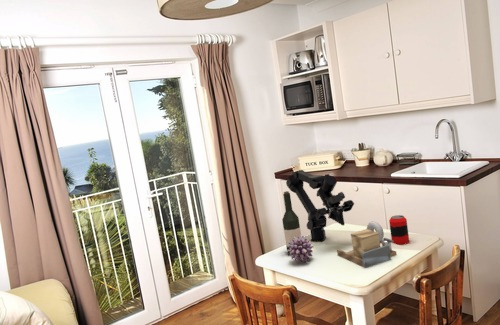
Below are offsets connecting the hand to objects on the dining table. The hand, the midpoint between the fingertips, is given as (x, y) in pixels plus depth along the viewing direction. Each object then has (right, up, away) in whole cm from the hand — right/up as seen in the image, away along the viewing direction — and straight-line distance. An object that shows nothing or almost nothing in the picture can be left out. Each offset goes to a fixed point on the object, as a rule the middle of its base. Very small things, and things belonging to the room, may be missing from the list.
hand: (343, 224), depth 193 cm
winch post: (+16, -12, -12) cm, 23 cm away
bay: (+6, -13, -10) cm, 18 cm away
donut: (+17, -9, +7) cm, 21 cm away
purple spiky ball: (-19, -16, -3) cm, 25 cm away
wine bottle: (-21, -15, +11) cm, 28 cm away
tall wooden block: (+7, -13, -14) cm, 20 cm away
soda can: (+27, -9, +2) cm, 28 cm away
